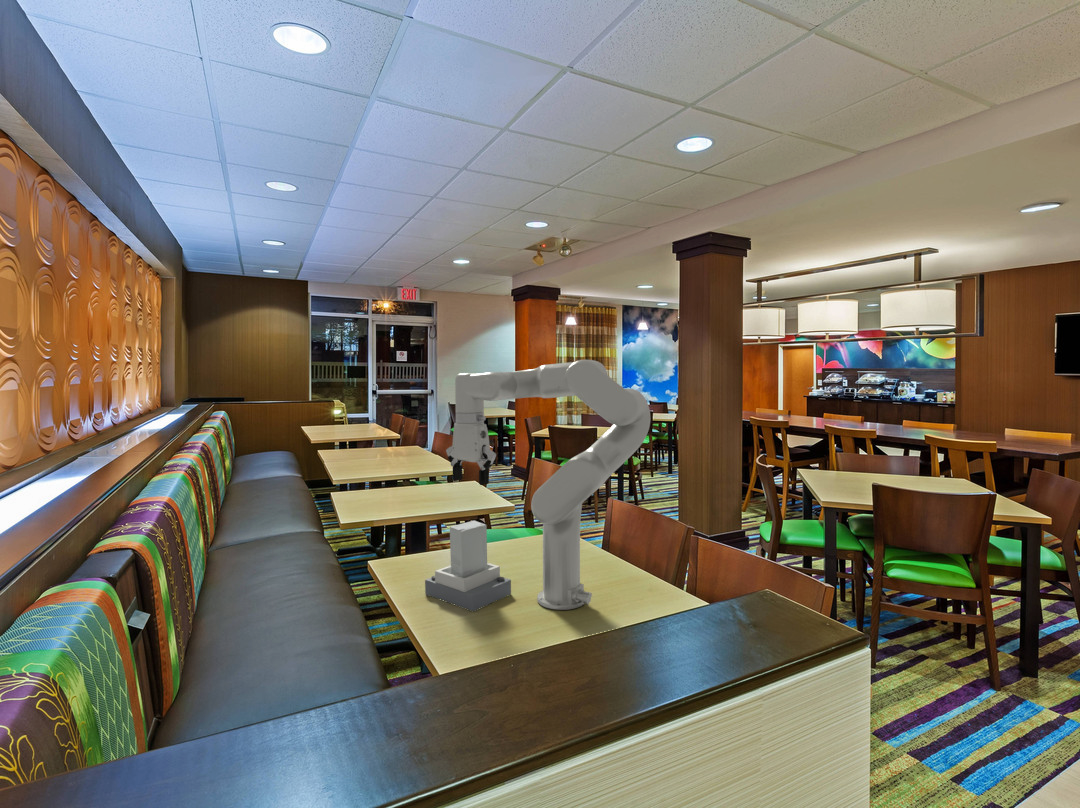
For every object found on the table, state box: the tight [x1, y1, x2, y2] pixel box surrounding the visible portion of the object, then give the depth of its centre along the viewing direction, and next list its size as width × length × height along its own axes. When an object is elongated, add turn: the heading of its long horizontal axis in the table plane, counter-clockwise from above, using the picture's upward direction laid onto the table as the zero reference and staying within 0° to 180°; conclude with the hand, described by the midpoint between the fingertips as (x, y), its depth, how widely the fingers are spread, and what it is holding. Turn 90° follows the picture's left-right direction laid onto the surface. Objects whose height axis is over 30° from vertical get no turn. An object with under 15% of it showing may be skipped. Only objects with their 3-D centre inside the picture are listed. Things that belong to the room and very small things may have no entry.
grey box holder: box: [424, 562, 512, 612], centre depth 149 cm, size 18×14×7 cm
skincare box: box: [449, 520, 488, 578], centre depth 149 cm, size 8×6×15 cm
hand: (470, 482), depth 152 cm, fingers open, 9 cm apart
